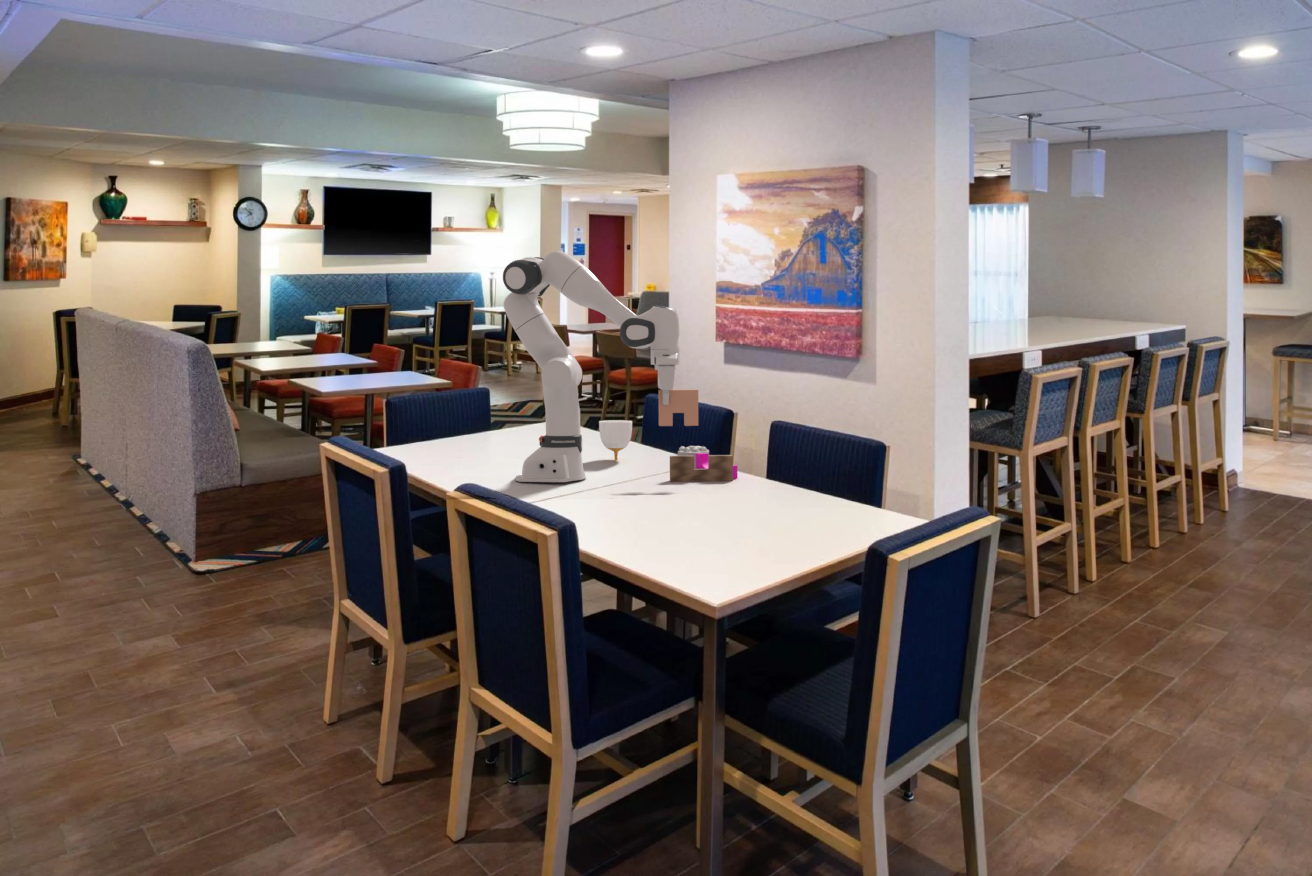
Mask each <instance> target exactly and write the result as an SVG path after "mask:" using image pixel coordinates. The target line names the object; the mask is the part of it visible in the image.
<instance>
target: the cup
mask: <svg viewBox="0 0 1312 876" xmlns="http://www.w3.org/2000/svg"><path fill="white" fill-rule="evenodd" d="M598 427H599V428H598V429H599V430H598V431H599V437H600V440H601V443H602V445H603V447H605V448H606V449H607V450H610V451H611V452H613V453H614V461H618V454H619V452H620V451H622V450H623V449H626V448H627V447H628V445H629V444H630V442H631V438H632V432H633V420H626V419H625V420H624V419H622V420H621V419H618V420H617V419H616V420H615V419H613V420H612V419H611V420H610V419H609V420H608V419H607V420H599V421H598Z"/></svg>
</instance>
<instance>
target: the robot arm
mask: <svg viewBox="0 0 1312 876" xmlns="http://www.w3.org/2000/svg"><path fill="white" fill-rule="evenodd" d="M502 280H503V284H504V286H505V288H506V289H507V290H508V291H510V293H508V295H507V296H506V297H505V298H504V300H503V309H504V311H505V314H506V316H507V319H508V321H509V323H510V325H511V327H512V328H513V330H514V333H516V335H517V336H518V338H519V340H520V342H521V343H522V345H523V346H524V348H525V349H526V352H527V353H528V354H529V355H530V356H531V357H532V359H533V360H534V361H535V362H536V364H537V365H538V366H539V369H541V375H540V376H541V382H542V383H541V385H542V393H543V400H544V401H543V403H544V408H545V409H544V411H545V435H541V436H539V438H538V442H539V446H540V447H538V448H537V449H536V450H535V451H534V452H532V453H531V454H530V455H529V456H528V457H527V458H526V459H524V461H523V464H522V469H521V474H522V475H520V474H518V475H516V476H515V478H514V479H516V480H515V481H516V482H520V483H521V482H522V483H568V482H574V481H581V480H586V479H587V475H586V473H585V469H584V464H583V457H582V451H583V437H582V434H581V408H580V402H579V393H578V386H579V385H580V383H581V382H582V379H583V369H582V366H581V365H580V364H579V361H578V360H577V359H576V358H575V356H574V354H573V353H572V351H571V350H570V349H569V348H568V346H567V344H565V342H564V340H562V338H561V337H560V336H559V334H558V332H557V331H556V329H555V327H554V326H553V324H552V323H551V321H550V319H549V318H548V316H547V315H546V313H545V311H544V310H543V308H542V307H541V304H540V303H539V301H538V298H539V297H541V296H543V295H544V293H545V292H546V291H547V289H548V288H549V287H550V286H551V287H554V288H555V289H556V290H557V291H558V292H559V293H561V294H562V295H563V296H564V297H566V299H569V300H570V301H571V302H573V303H575V304H576V305H579V306H581V307H584V308H587V309H591V310H594V311H596V312H599V313H601V314H602V315H604V316H605V317H606V318H608V319H609V320H610V321H612V322H613V323H614V324H615V325H616V326H618V327H619V337H620V340H621V341H622V343H623V344H624V345H626V346H627V347H628V348H632V349H637V350H641V351H647V350H650V365H653V366H654V371H657V388H658V389H659V390H662V395H663V404H664V405H668V404H669V390H674V385H675V383H674V382H675V375H676V366H678V365H680V345H679V338H680V321H679V320H680V319H679V314H678V311H676V310H675V309H674V308H673V307H668V306H663V305H653V306H652V307H651V308H650V309H648V310H646V311H645V312H643V313H641V314H639V315H638V314H636V313H635V312H633V311H632V310H631V309H630V308H628V307H627V306H626V305H625V304H623V303H622V301H621V302H620V301H619V300H618V299H617V298H616V297H615V296H614V295H613V294H612V293H611V292H610V291H609V290H608V289H607V287H606V286H604V284H603V283H602V282H601V281H600V280H599V279H598V277H597V276H596V275H595V274H594V273H593V272H592V271H591V270H590V269H589V268H588V267H587V266H585V265H584V264H582V262H580V261H578V260H577V259H576V258H574V257H573V256H571V255H570V254H568V253H566V252H564V251H563V250H553V251H550V253H548V254H547V255H546V256H545V257H544V258H543V257H539V256H536V257H535V256H534V257H533V256H530V257H523V258H521V259H517V260H516V259H515V260H513V261H512V262H510V263H508V264H507V265H506V266H505V268H504V270H503V273H502Z"/></svg>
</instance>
